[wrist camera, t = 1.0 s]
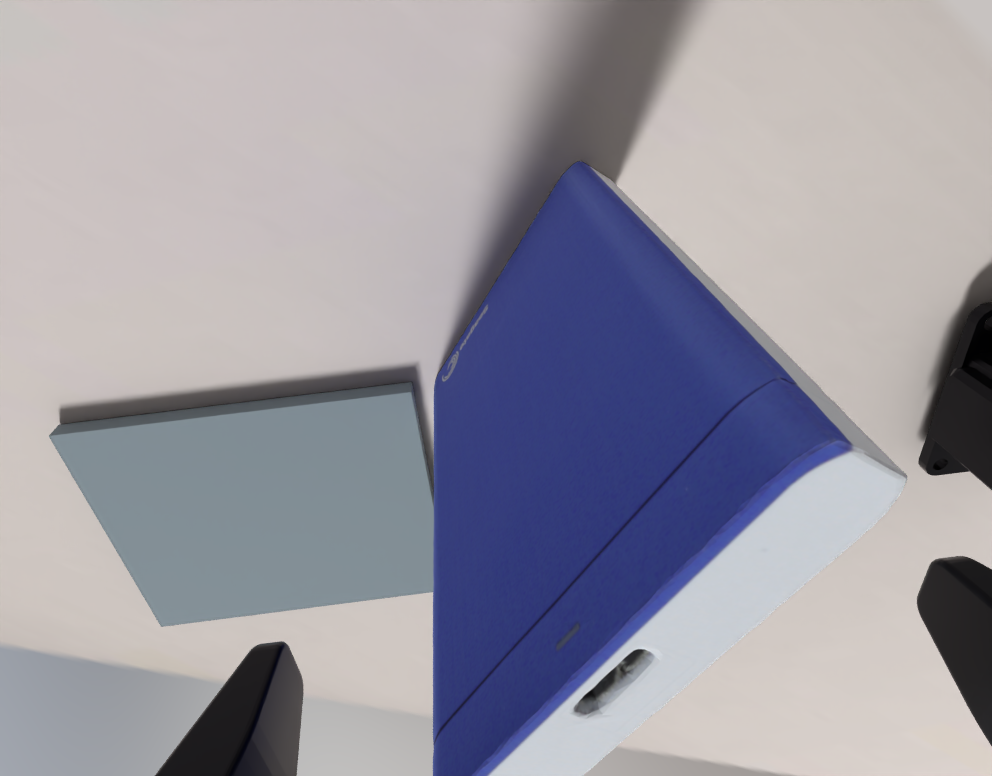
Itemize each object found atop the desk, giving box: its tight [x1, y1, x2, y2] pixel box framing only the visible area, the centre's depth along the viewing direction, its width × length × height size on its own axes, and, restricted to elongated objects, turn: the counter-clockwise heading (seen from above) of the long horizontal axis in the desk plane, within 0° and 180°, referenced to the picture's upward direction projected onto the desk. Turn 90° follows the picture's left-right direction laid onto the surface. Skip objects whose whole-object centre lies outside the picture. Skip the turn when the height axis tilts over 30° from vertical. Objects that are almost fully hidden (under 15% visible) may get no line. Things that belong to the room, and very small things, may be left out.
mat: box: [49, 382, 434, 627], centre depth 21 cm, size 11×9×1 cm
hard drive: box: [433, 161, 907, 776], centre depth 13 cm, size 2×8×12 cm, turn 149°
